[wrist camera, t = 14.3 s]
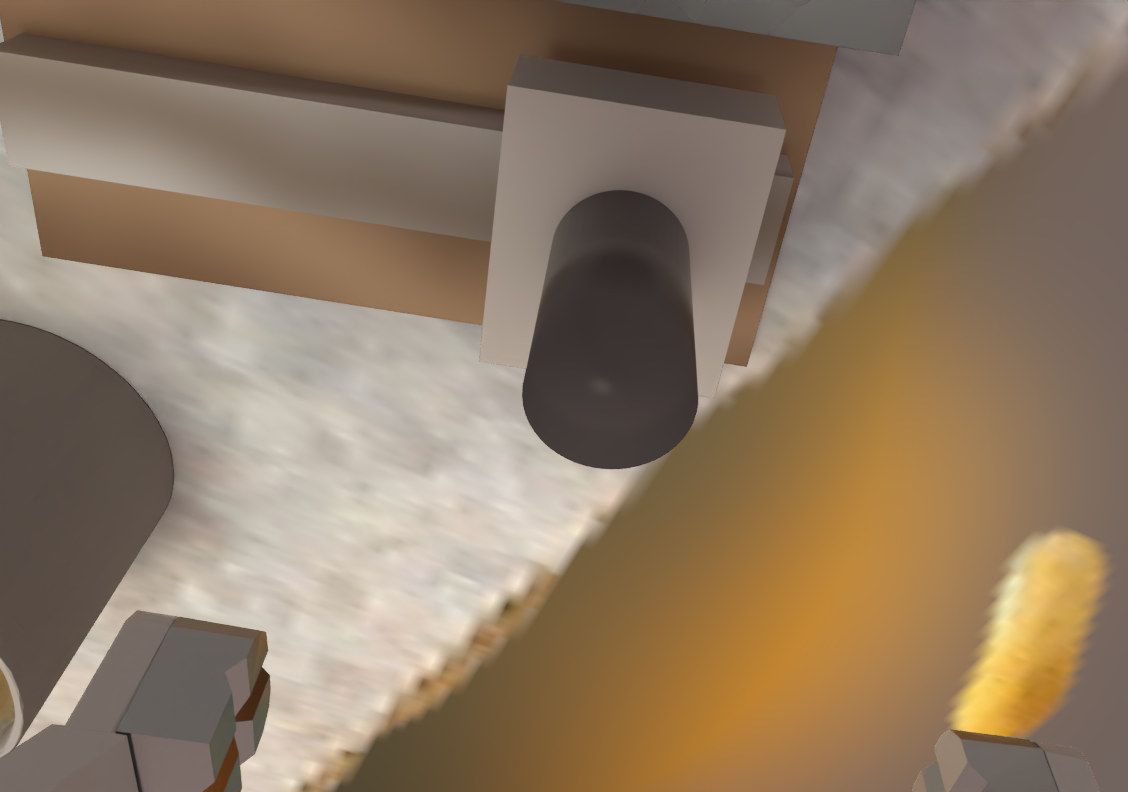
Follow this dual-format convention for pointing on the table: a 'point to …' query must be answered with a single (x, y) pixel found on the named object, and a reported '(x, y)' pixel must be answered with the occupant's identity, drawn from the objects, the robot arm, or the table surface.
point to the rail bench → (397, 62)
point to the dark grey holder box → (788, 18)
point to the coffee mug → (65, 507)
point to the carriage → (622, 249)
